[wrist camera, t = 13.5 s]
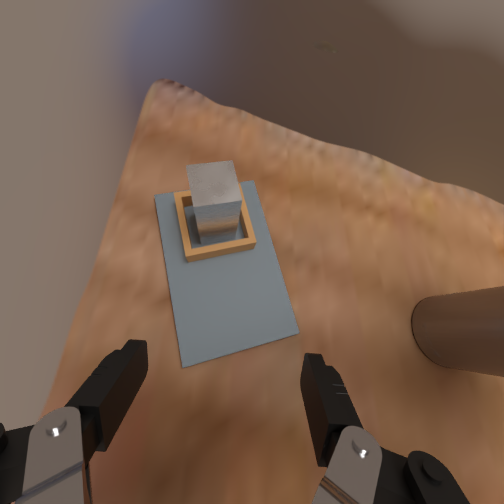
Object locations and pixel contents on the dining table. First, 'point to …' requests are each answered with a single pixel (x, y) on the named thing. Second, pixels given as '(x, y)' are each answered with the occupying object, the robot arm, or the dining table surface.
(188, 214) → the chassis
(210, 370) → the dining table surface
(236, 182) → the brushed metal pillar
